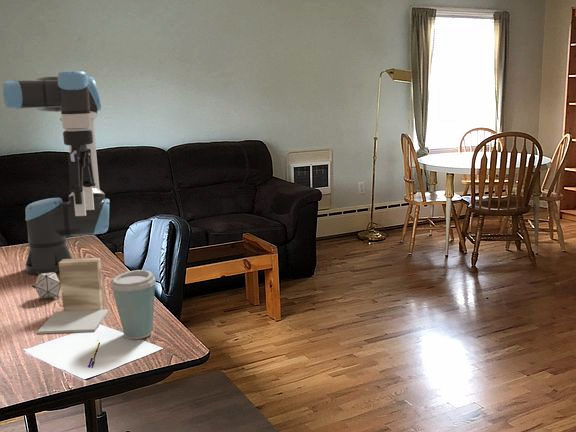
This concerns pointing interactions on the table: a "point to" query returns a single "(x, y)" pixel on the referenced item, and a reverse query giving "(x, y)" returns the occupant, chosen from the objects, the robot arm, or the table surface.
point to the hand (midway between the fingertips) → (85, 212)
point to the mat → (73, 321)
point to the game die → (47, 285)
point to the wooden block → (81, 284)
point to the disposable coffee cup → (135, 302)
